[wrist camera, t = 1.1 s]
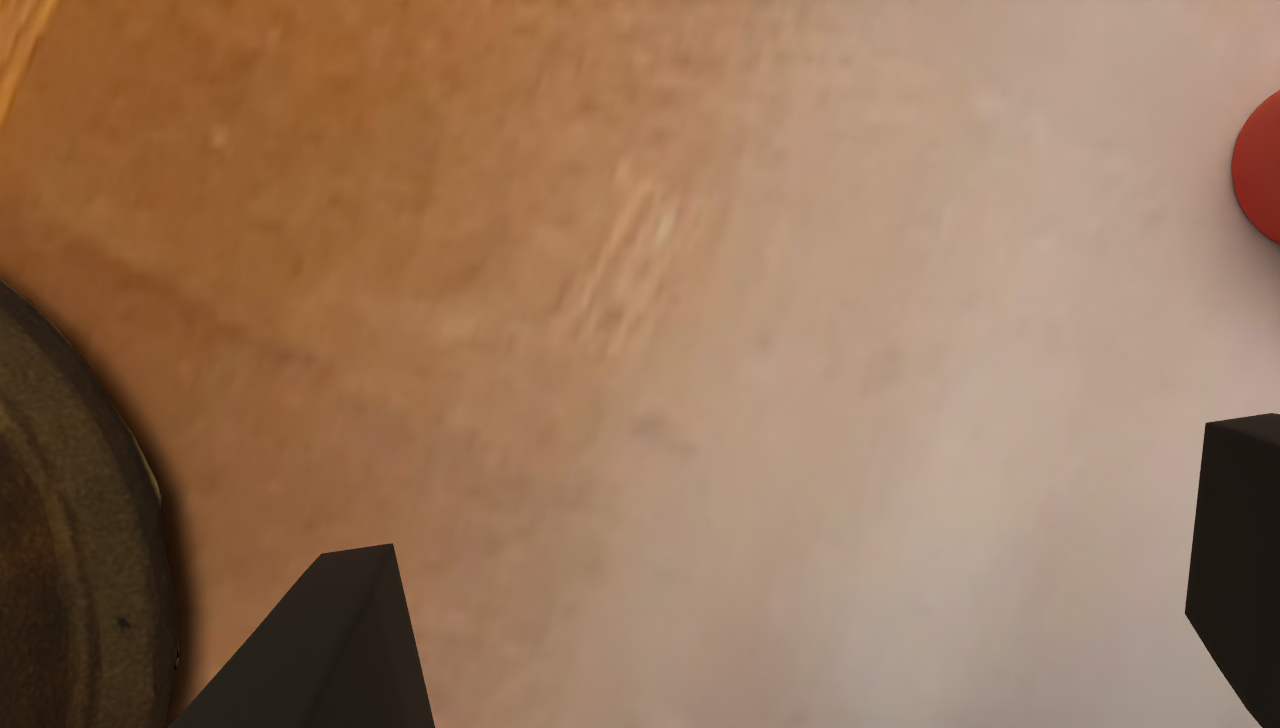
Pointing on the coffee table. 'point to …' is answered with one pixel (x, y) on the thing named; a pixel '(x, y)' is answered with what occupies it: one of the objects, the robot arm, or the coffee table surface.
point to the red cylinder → (1260, 167)
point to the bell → (76, 545)
